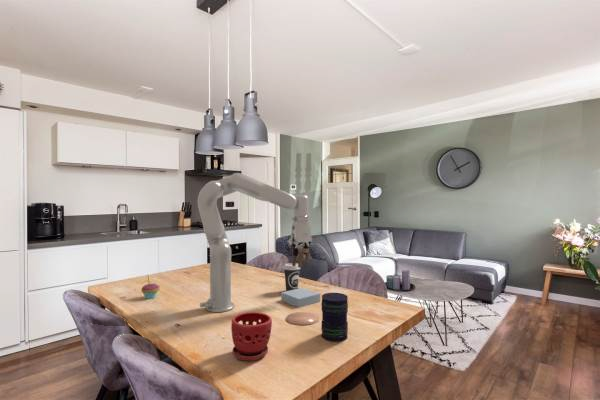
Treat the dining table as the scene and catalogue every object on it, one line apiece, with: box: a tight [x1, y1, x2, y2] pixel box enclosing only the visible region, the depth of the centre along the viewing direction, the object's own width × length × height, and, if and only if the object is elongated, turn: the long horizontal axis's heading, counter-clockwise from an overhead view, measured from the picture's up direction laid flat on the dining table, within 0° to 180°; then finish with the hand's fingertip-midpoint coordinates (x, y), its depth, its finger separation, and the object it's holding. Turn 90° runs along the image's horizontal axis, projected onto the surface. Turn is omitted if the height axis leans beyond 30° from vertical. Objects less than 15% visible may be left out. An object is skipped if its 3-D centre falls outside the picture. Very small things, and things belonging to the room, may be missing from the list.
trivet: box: [285, 311, 319, 326], centre depth 136 cm, size 14×14×1 cm
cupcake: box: [141, 275, 160, 300], centre depth 165 cm, size 9×8×12 cm
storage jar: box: [320, 292, 349, 343], centre depth 118 cm, size 10×10×15 cm
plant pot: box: [230, 312, 273, 362], centre depth 104 cm, size 13×13×12 cm
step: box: [280, 287, 321, 308], centre depth 160 cm, size 14×14×4 cm
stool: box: [291, 247, 310, 268], centre depth 160 cm, size 6×6×9 cm
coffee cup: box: [282, 262, 302, 292], centre depth 176 cm, size 10×10×15 cm
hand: (300, 254), depth 160 cm, fingers closed on stool, 6 cm apart
